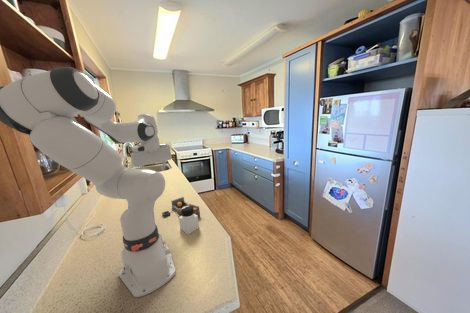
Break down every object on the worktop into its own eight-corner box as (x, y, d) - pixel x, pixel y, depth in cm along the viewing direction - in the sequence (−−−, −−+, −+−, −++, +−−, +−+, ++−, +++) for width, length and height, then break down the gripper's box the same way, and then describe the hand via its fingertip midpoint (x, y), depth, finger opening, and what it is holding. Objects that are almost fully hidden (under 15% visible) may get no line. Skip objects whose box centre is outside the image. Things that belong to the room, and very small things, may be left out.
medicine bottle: (199, 228, 92) (197, 206, 89) (187, 235, 87) (184, 212, 84) (191, 223, 97) (189, 202, 94) (180, 229, 91) (177, 208, 89)
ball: (179, 207, 116) (181, 207, 113) (175, 206, 115) (176, 205, 112) (181, 203, 117) (183, 202, 115) (177, 201, 116) (178, 201, 114)
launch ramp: (200, 216, 103) (199, 206, 102) (187, 221, 98) (186, 212, 97) (190, 208, 112) (189, 200, 111) (178, 213, 107) (177, 204, 106)
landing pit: (190, 208, 112) (189, 201, 111) (178, 213, 107) (177, 205, 106) (183, 203, 120) (182, 196, 119) (172, 207, 115) (171, 200, 114)
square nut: (170, 215, 106) (170, 212, 106) (164, 217, 104) (164, 215, 104) (168, 212, 109) (167, 210, 109) (162, 215, 107) (162, 212, 106)
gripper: (166, 142, 103) (170, 165, 106) (127, 148, 89) (132, 174, 92) (171, 143, 99) (175, 167, 102) (131, 149, 85) (136, 176, 87)
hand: (154, 170), depth 97 cm, fingers open, 8 cm apart
